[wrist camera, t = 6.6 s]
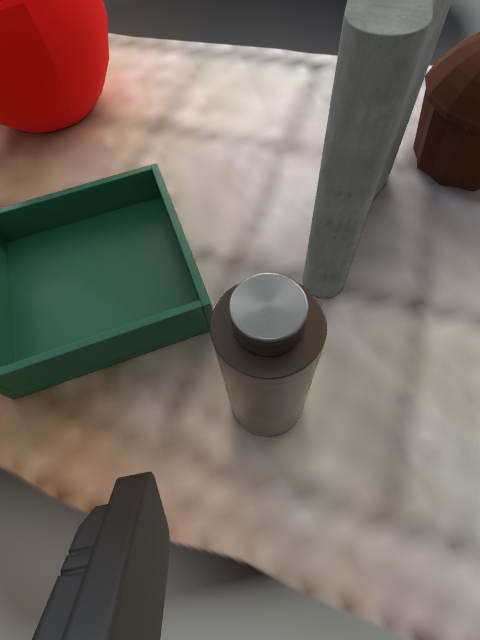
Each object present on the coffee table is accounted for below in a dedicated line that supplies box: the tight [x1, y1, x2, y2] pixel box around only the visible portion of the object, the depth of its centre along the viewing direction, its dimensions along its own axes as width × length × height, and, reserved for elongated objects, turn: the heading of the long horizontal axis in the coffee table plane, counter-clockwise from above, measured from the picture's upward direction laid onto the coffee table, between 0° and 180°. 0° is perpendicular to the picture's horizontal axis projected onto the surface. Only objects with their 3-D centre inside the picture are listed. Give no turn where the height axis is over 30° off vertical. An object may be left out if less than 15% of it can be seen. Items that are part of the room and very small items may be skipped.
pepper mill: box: [210, 273, 327, 436], centre depth 19 cm, size 5×5×12 cm
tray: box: [0, 163, 213, 399], centre depth 29 cm, size 15×15×4 cm
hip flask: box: [303, 0, 452, 298], centre depth 23 cm, size 16×4×20 cm, turn 154°
